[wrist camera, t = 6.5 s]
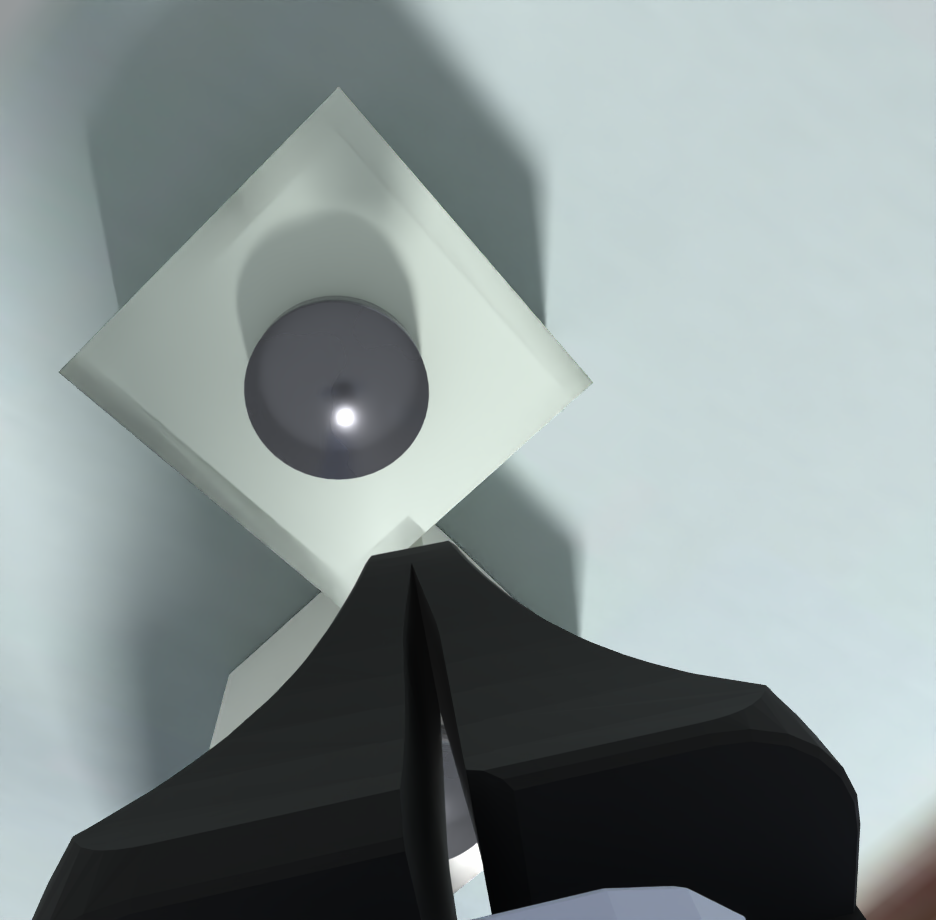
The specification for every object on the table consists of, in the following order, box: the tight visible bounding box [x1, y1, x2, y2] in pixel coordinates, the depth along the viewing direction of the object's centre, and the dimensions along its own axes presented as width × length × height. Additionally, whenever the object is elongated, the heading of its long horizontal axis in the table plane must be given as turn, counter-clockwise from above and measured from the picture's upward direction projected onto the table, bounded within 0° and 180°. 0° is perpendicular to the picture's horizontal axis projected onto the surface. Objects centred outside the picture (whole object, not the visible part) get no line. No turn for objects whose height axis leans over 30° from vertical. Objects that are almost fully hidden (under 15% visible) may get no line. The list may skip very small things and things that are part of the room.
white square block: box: [209, 524, 514, 894], centre depth 22 cm, size 8×8×4 cm
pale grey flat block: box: [59, 87, 593, 608], centre depth 18 cm, size 8×8×4 cm
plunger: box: [244, 295, 429, 480], centre depth 17 cm, size 5×5×5 cm
